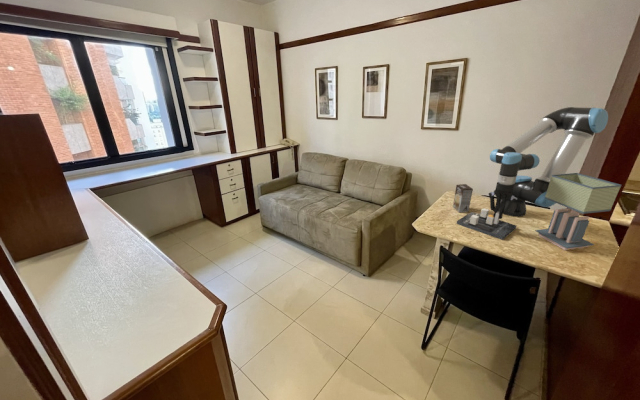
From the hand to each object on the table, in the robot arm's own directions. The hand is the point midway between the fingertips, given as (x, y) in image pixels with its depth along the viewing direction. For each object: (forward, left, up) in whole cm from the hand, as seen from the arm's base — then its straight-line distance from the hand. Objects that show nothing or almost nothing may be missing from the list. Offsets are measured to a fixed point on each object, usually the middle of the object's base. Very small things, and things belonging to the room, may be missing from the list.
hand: (496, 223), depth 141 cm
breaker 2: (-6, -9, -1) cm, 11 cm away
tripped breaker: (0, -3, -1) cm, 3 cm away
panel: (0, -5, -4) cm, 6 cm away
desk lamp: (-11, +26, -4) cm, 29 cm away
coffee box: (-12, -25, -4) cm, 28 cm away
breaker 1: (+7, -9, -1) cm, 11 cm away
